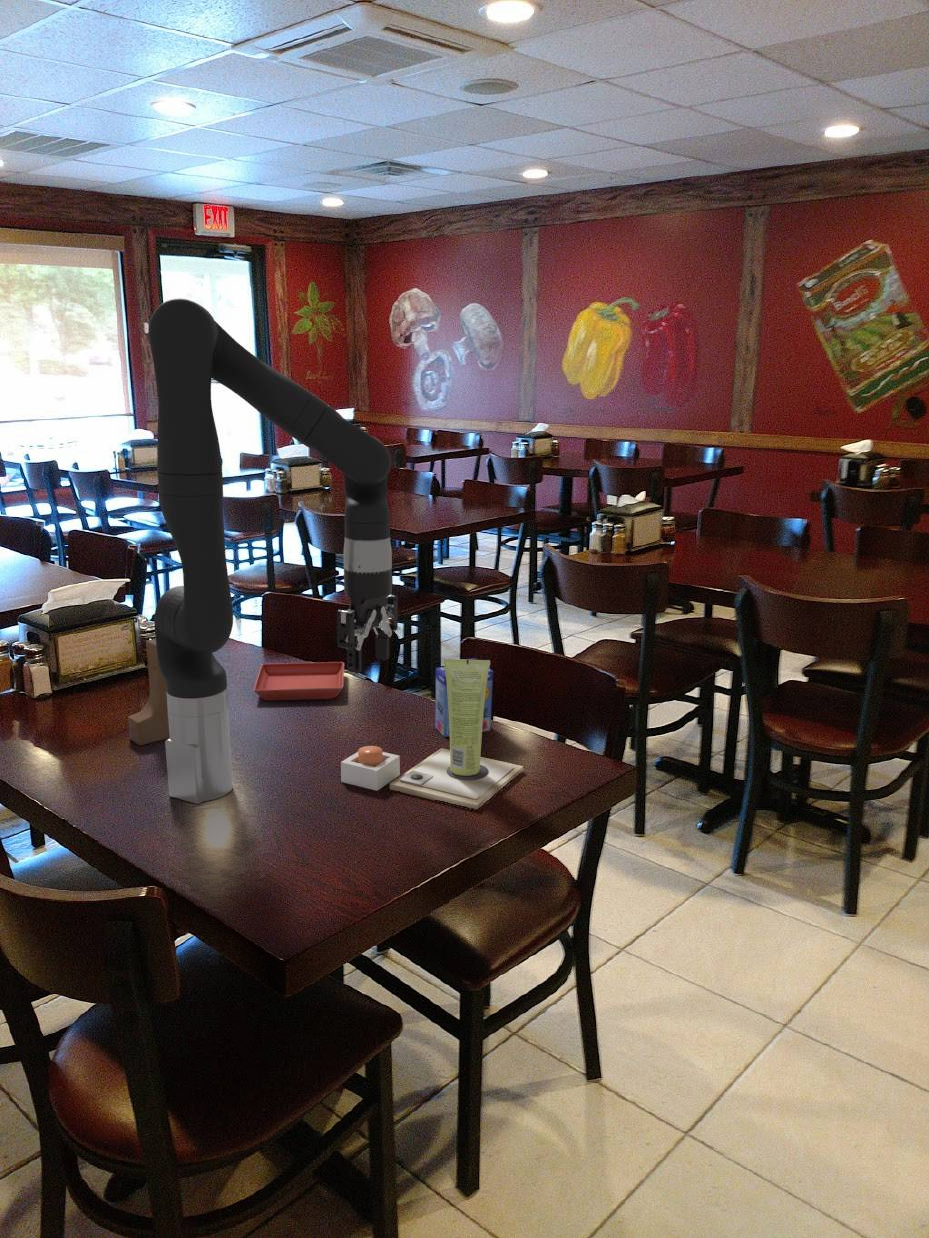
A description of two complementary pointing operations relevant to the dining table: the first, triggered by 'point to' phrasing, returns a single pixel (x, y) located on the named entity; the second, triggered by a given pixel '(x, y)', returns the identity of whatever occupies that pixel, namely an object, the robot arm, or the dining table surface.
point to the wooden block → (151, 705)
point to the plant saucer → (300, 681)
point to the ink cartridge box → (442, 702)
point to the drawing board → (455, 780)
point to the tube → (466, 712)
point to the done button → (370, 755)
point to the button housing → (370, 771)
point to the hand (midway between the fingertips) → (368, 665)
